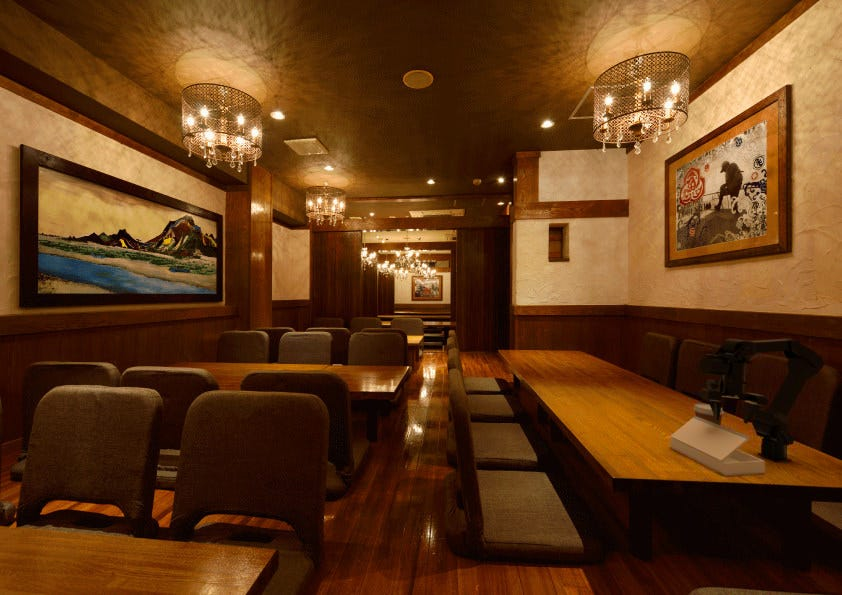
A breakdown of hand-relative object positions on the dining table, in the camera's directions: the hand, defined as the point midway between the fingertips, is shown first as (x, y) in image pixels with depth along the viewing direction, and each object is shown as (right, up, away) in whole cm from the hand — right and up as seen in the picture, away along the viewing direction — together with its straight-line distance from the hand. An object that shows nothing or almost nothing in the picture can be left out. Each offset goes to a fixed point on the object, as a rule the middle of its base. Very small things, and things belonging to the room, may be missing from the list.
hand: (730, 421), depth 131 cm
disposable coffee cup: (+7, -13, +20) cm, 25 cm away
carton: (-6, -13, -1) cm, 14 cm away
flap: (-9, -5, -1) cm, 10 cm away
